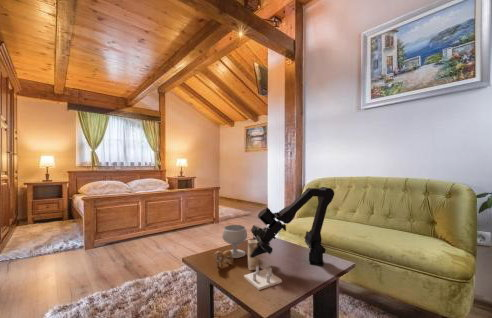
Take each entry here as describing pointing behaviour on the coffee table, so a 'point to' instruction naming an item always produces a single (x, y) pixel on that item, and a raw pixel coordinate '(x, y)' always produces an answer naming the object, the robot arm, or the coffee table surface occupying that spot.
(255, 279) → the peg stand
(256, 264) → the birch post
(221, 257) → the lion figurine
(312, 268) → the coffee table surface
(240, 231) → the chalice
